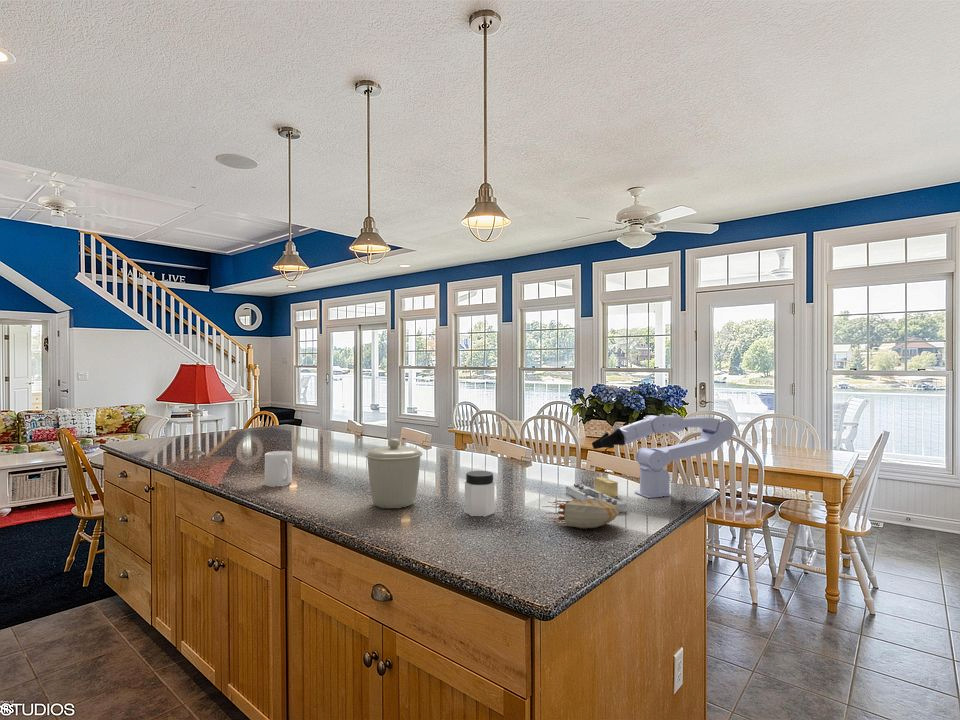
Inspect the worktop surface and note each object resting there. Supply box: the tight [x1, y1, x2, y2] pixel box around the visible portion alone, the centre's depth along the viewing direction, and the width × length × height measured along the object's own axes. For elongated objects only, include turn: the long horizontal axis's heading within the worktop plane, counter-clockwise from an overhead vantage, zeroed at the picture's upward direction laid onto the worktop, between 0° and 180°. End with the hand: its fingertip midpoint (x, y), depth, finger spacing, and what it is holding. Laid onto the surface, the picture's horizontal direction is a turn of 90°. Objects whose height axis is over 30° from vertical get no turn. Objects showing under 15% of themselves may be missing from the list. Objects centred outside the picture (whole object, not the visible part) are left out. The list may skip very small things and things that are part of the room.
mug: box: [264, 450, 293, 486], centre depth 194 cm, size 10×12×12 cm
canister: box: [364, 438, 424, 509], centre depth 168 cm, size 18×18×21 cm
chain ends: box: [565, 483, 627, 513], centre depth 172 cm, size 7×26×3 cm, turn 19°
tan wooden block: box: [594, 476, 619, 498], centre depth 182 cm, size 4×9×5 cm, turn 19°
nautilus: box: [541, 498, 619, 530], centre depth 148 cm, size 8×22×15 cm
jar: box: [464, 470, 495, 518], centre depth 159 cm, size 9×8×12 cm
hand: (597, 444), depth 177 cm, fingers open, 7 cm apart
